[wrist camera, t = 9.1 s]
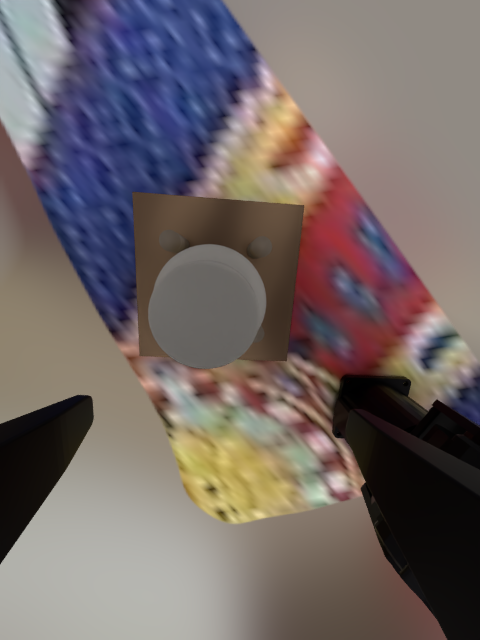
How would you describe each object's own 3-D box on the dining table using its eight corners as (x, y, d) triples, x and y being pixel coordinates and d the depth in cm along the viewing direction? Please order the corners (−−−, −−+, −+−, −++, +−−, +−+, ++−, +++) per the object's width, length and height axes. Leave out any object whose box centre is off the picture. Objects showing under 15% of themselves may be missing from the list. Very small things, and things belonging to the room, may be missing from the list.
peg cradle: (298, 210, 18) (324, 190, 13) (282, 354, 21) (299, 381, 16) (140, 198, 17) (106, 171, 12) (146, 349, 20) (119, 376, 15)
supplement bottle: (177, 250, 17) (111, 241, 7) (251, 247, 17) (280, 233, 7) (185, 322, 18) (138, 391, 9) (253, 318, 18) (279, 382, 9)
